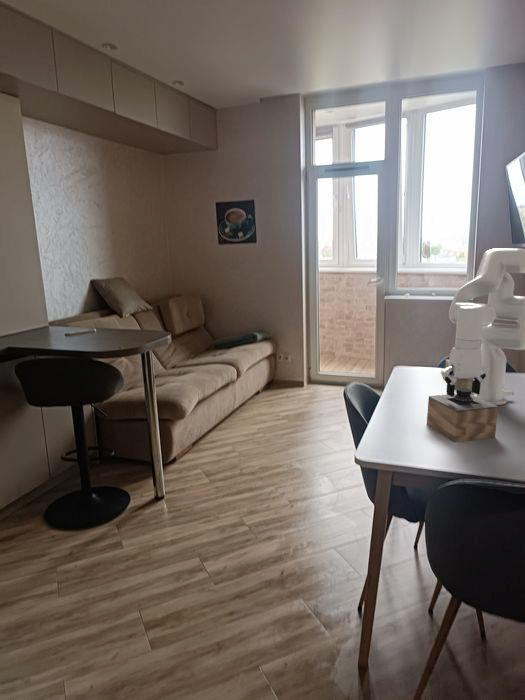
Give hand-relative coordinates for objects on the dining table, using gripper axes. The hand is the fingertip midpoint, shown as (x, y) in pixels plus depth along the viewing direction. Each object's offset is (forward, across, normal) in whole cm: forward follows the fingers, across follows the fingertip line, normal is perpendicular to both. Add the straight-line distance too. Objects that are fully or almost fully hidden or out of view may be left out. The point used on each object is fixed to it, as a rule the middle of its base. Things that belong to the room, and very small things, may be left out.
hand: (462, 394), depth 162 cm
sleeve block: (+13, 0, 0) cm, 13 cm away
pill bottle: (+10, 0, 0) cm, 10 cm away
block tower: (+14, -37, -52) cm, 66 cm away
